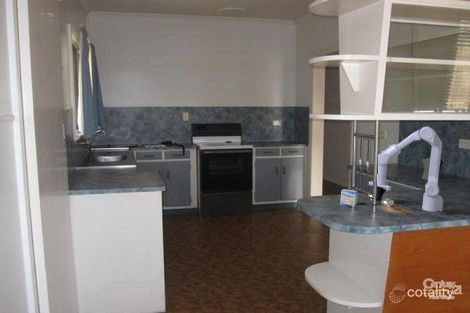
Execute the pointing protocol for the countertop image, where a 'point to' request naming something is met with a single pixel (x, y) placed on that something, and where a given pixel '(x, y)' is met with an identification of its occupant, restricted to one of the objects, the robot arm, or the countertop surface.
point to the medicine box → (348, 198)
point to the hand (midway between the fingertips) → (378, 200)
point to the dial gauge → (371, 199)
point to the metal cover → (387, 202)
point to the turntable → (395, 209)
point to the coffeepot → (427, 165)
